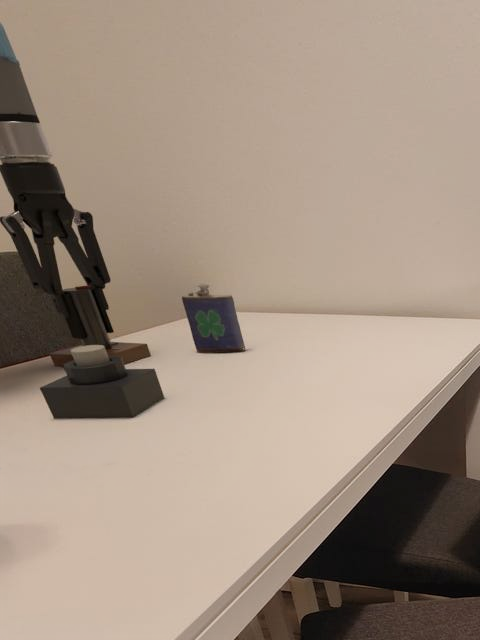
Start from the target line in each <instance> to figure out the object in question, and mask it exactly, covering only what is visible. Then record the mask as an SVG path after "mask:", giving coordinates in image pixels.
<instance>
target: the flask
mask: <svg viewBox="0 0 480 640" xmlns="http://www.w3.org/2000/svg"><path fill="white" fill-rule="evenodd" d="M197 287H199V288H200V290H197V291H190V292H188V293H187V294H183V295H182V296H181V301H182V304H183V307H184V311H185V314H186V318H187V322H188V324H189V328H190V332H191V336H192V341H193V344H194V347H195V349H196V353H203V354H205V353H207V354H208V353H211V354H213V353H236V352H239V353H240V352H245V350H246V345H245V341H244V338H243V334H242V330H241V325H240V322H239V318H238V314H237V310H236V306H235V300H234V298H233V296H232V295H231V294H210V291H209V287H210V285H209V284H207V283H198V284H197Z"/></svg>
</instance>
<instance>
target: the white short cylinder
mask: <svg viewBox="0 0 480 640" xmlns="http://www.w3.org/2000/svg"><path fill="white" fill-rule="evenodd" d="M71 353H72V356H73V358H74V360H75V363H76V365H77V366H93V365H99V364H104V363H108V362H110V360H109V357H108V354H107V352H106V349H105V347H104V346H102V345H88V346H81V347H77V348H73V349H71Z"/></svg>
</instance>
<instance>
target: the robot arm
mask: <svg viewBox="0 0 480 640" xmlns="http://www.w3.org/2000/svg"><path fill="white" fill-rule="evenodd" d="M53 157H54V156H53V153H52V149H51V147H50V145H49V142H48V140H47V136H46V134H45V132H44V130H43V127H42V124H41V121H40V119H39V117H38V114H37V111H36V108H35V105H34V103H33V100H32V96H31V94H30V91H29V88H28V86H27V83H26V80H25V77H24V75H23V71H22V68H21V64H20V61H19V60H18V59H17V56H16V54H15V51H14V50H13V47H12V45H11V42H10V40H9V37H8V35H7V32H6V30H5V28H4V25H3V24H2V22H0V162H1V164H0V174H1V175H0V176H1V177H2V179H3V182H4V185H5V187H6V189H7V192H8V193H9V195H10V197H11V198H12V201H13V211H12V212H11V213H9V214H8V215H5V216H4V215H3V216H0V224H1V225H2V227H3V228H4V229H5V230H6V232H7V233H8V234H9V236H10V238H11V239H12V242H13V245H14V246H15V249H16V251H17V254H18V256H19V258H20V260H21V263H22V264H23V267H24V269H25V271H26V274H27V276H28V278H29V281H30V283H31V286H32V288H33V289H34V290H35V291H36V292H41V293H45V294H47V295H49V296H50V298H51V300H52V303H53V305H54V307H55V310H56V313H57V314H58V316H59V317H60V318H64V319H65V323H66V325H67V327H68V330H69V332H70V335H71V337H72V338H73V339H79V340H81V339H85V338H86V335H85V333H84V330H83V328H82V325H81V323H80V320H79V318H78V315H77V313H76V310H75V308H74V305H73V303H72V300H71V298H70V295H69V294H63V285H62V280H61V275H60V271H59V268H58V261H57V256H56V251H55V248H54V247H55V238H58V241H59V242H60V243H61V244H62V245H63V246H64V247H65V250H66V251H67V254H69V256H70V258H71V260H72V261H73V263H74V265H75V267H76V269H77V270H78V272H79V273H80V276H81V277H82V279H83V280H84V282H85V284H86V286H87V285H89V286H90V288H91V290H92V293H93V296H94V298H95V301H96V304H97V306H98V309H99V312H100V314H101V317H102V319H103V322H104V325H105V327H106V330H107V333H108V334H113V333H115V331H114V328H113V325H112V323H111V320H110V318H109V314H108V312H107V311H109V309H110V306H109V303H108V301H107V298H106V295H105V293H104V289H106V284H109V283H111V276H110V274H109V271H108V268H107V264H106V261H105V259H104V256H103V253H102V250H101V247H100V245H99V242H98V239H97V235H96V233H95V230H94V229H95V228H94V216H93V214H92V213H91V212H89V211H81V210H78V209H76V208H74V207H73V205H72V204H71V203H70V201H69V200H68V198H67V196H66V189H65V186H64V184H63V181H62V178H61V175H60V173H59V170H58V167H57V166H55V164H54V163H52V162H51V160H52V159H53ZM73 223H74V224H75V225H76V228H77V232H78V234H79V237H80V240H81V243H82V245H81V243H80V242H79V237H78V235H77V233H76V231H75V230H74V228H73ZM25 226H27V227H28V228H29V229H30V230H31V234H32V239H33V242H34V244H35V245H36V249H37V253H38V257H39V259H38V257H37V254H36V252H35V250H34V247H33V245H32V243H31V240H30V238H29V236H28V234H27V232H26V231H25V229H26V227H25Z"/></svg>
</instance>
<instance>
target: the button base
mask: <svg viewBox="0 0 480 640" xmlns="http://www.w3.org/2000/svg"><path fill="white" fill-rule="evenodd" d="M108 357H109V360H110V362H108V363H104V364H99V365H93V366H77V365H76V363H75V360H73V361H70V362H68V363H65V364H64V366H63V370H64V371H65V374H66V375H65V376H63V377H60V378H58V379H56V380H54V381H52V382H50V383H47V384H44V385H42V386H40V387H39V390H40V392H41V394H42V396H43V398H44V401H45V403H46V405H47V407H48V409H49V410H50V414H51V416H52V417H53V419H54V420H55V419H56V420H57V419H61V420H62V419H63V420H64V419H133V418H136V417H137V416H139V415H140V414H142V413H143V412H145V411H146V410H148V409H150V408H151V407H152V406H153V405H156V404H157V403H159V402H161V401H162V400H164V399H165V394H164V391H163V389H162V387H161V384H160V380H159V377H158V375H157V371H156V369H155V368H126V366H125V364H124V363H123V360H122V358H121V357H118V356H108Z"/></svg>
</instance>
